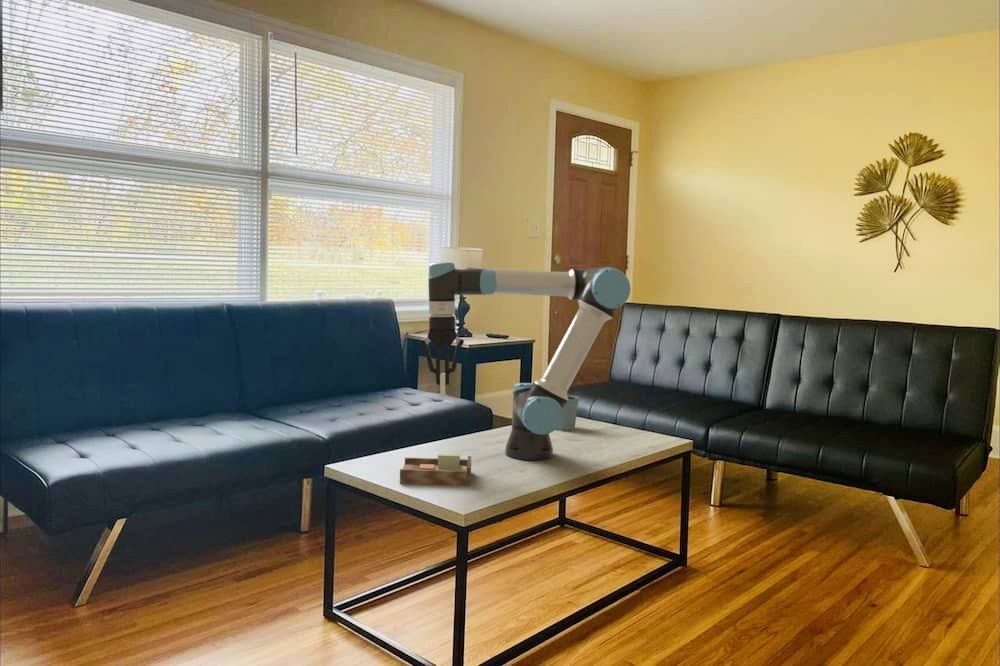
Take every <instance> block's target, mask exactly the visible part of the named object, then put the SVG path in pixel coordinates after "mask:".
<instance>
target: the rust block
mask: <svg viewBox="0 0 1000 666" xmlns="http://www.w3.org/2000/svg"><path fill="white" fill-rule="evenodd" d="M419 469H421V470H435V465H434V464H420V467H419Z"/></svg>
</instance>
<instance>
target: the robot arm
mask: <svg viewBox="0 0 1000 666" xmlns="http://www.w3.org/2000/svg"><path fill="white" fill-rule="evenodd" d="M455 266H456V265H455V263H454V262H432V263H430V264H429V266H428V313H429V315H430V316H429V317H428V325H429V327H428V328H429V329H428V330H429V331H428V333H427V336H426V337H424V338H422V339H421V340H420V344H421V345H422V347H423V349H424V353H425V357H426V361H427V365H428V368H429V372H431V373H434V374H435V383H436V386H439V391H440V392H439V394H440V395H439V396H440V397H446V385H450V374H451V373H454V372H455V371H456V368H457V363H458V360H459V355H460V352H461V348H462V346H463V345H464V342H465V340H464V339H463V338H461V337H459V336H458V334H457V332H456V317H455V316H454V315H455V314H456V299H455V297H456V296H461V295H463V296H465V295H466V296H467V295H468V296H487V295H488V296H489V295H490V296H491V295H494V294H498V295H499V294H500V295H524V296H525V295H526V296H547V297H551V296H552V297H553V296H554V297H566V298H568V299H569V300H570V301H572V300H573V301H577V304H578V310H577V312H576V313H575V315H574V318H573V319H572V321H571V323H570V325H569V327H568V328H567V329H566V332H565V333H564V335H563V338H562V340H561V341H560V343H559V345H558V347H557V349H556V350H555V353H554V354H553V356H552V358H551V360H550V362H549V363H548V366H547V367H546V369H545V372H544V373H543V375H542V376H541V378H539V379H537V380H534V381H533V382H517V383H514V385H513V389H512V412H511V413H512V415H511V432H510V434H509V437H508V440H507V442H506V445H505V455H506V456H508V457H509V458H512V459H517V460H525V461H541V460H542V461H543V460H548V459H550V458H552V457H553V456H554V454H553V453H554V447H553V444H552V441H551V435H550V434H551V433H553V432H554V431H557V430H556V429H557V428H558V427H559V425H560V424H561V421H562V417H563V409H564V407H565V405H566V403H567V401H568V400H569V399H568V396H567V395H568V390H569V389H570V387H571V385H572V383H573V382H574V380H575V378H576V375H577V374H578V372H579V370H580V369H581V367H582V365H583V363H584V361H585V359H586V358H587V355H588V353H589V351H590V349H591V348H592V346H593V344H594V342H595V341H596V338H597V337H598V335H599V333H600V331H601V329H602V327H603V325H604V324H605V322H607V321H610V320H612V319H613V318H614V316H615V314H616V313H617V310H618V308H620V307H622V306H624V304H625V303H626V302H627V301H628V300H629V297H630V294H631V283H630V280H629V278H628V276H627V275H626V274H625V273H624V272H623V271H621V270H619V269H618V268H615V267H610V266H605V267H604V266H603V267H602V266H597V267H589V268H577V269H576V268H570V269H569V270H568V271H549V270H548V271H547V270H546V271H545V270H523V269H522V270H521V269H519V270H517V269H495V268H474V267H467V268H464V269H458V268H456V267H455ZM454 341H455V345H456V346H455V351H454V353H453V354H454V355H453V359H452V363H451V367H450V347H451V346H452V344H453V343H454ZM429 343H431V344H432V345H433V347H435V367H434V363H433V359H432V355H431V351H430V347H429ZM441 348H444V372H441Z"/></svg>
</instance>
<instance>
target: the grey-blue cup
mask: <svg viewBox="0 0 1000 666" xmlns="http://www.w3.org/2000/svg"><path fill="white" fill-rule="evenodd" d="M567 396H568V399H569V400H568V401H567V403H566V405H565V407H564V409H563V417H562V421H561V424H560V425H559V427H558V428H557V430H556V431H558V430H564V431H563V432H569V431H568V430H572V431H574V430H575V429H576V421H577V420H576V419H577V414H578V413H577V412H578V407H579V400H580V397H579V396H577V395H576V396H575V395H571V394H567Z"/></svg>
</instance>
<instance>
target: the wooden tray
mask: <svg viewBox="0 0 1000 666" xmlns="http://www.w3.org/2000/svg"><path fill="white" fill-rule="evenodd" d="M420 464H434V465H435V470H421V469H419V467H420ZM471 474H472V455H468V456H467V458H466V459H465V458H464V459H461V458H460V466H459V470H442V469H438V457H437V458H431V457H429V458H428V457H404V464H403V467H402V468H400V469H399V484H400V485H424V486H428V485H431V486H456V487H457V486H459V487H460V486H461V487H462V486H463V487H470V486H471V478H472V477H471V476H472V475H471Z"/></svg>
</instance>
